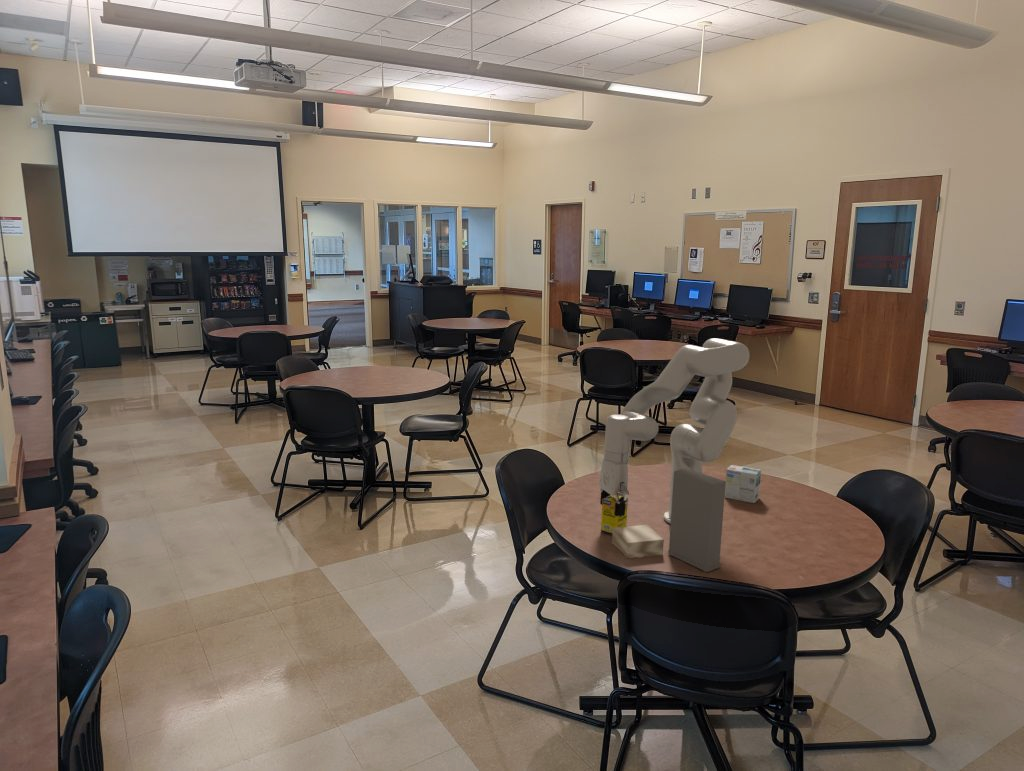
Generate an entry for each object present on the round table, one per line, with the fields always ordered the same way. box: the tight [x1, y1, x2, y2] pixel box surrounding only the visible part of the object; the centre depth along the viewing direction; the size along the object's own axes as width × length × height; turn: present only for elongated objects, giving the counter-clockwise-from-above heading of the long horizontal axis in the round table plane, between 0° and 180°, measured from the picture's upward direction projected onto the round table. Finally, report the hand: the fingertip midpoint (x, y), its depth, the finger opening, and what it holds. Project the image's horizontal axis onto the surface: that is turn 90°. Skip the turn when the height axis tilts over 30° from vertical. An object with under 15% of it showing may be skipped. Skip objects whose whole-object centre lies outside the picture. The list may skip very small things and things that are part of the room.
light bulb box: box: [724, 464, 762, 504], centre depth 243 cm, size 11×7×11 cm, turn 58°
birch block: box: [611, 524, 665, 559], centre depth 201 cm, size 11×11×5 cm
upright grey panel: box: [667, 468, 726, 573], centre depth 192 cm, size 14×6×25 cm, turn 35°
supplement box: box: [600, 495, 629, 536], centre depth 212 cm, size 6×6×11 cm
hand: (612, 509), depth 212 cm, fingers open, 9 cm apart
